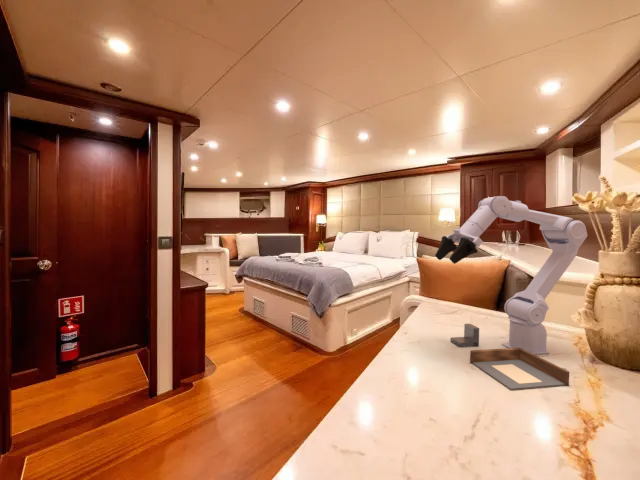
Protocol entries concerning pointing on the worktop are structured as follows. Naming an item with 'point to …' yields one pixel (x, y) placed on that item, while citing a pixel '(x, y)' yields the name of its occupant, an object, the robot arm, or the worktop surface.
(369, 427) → the worktop surface
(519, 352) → the corner walls
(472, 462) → the worktop surface
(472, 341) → the angle bracket
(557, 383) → the corner mat
